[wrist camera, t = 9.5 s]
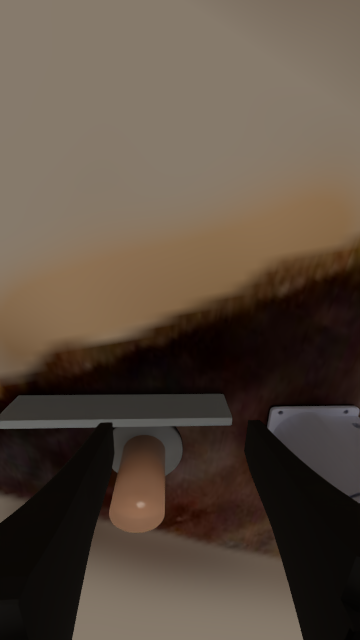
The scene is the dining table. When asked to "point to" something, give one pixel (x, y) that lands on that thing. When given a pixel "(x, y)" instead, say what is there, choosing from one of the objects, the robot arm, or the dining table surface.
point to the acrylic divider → (116, 411)
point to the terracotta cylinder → (140, 486)
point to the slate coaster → (163, 433)
